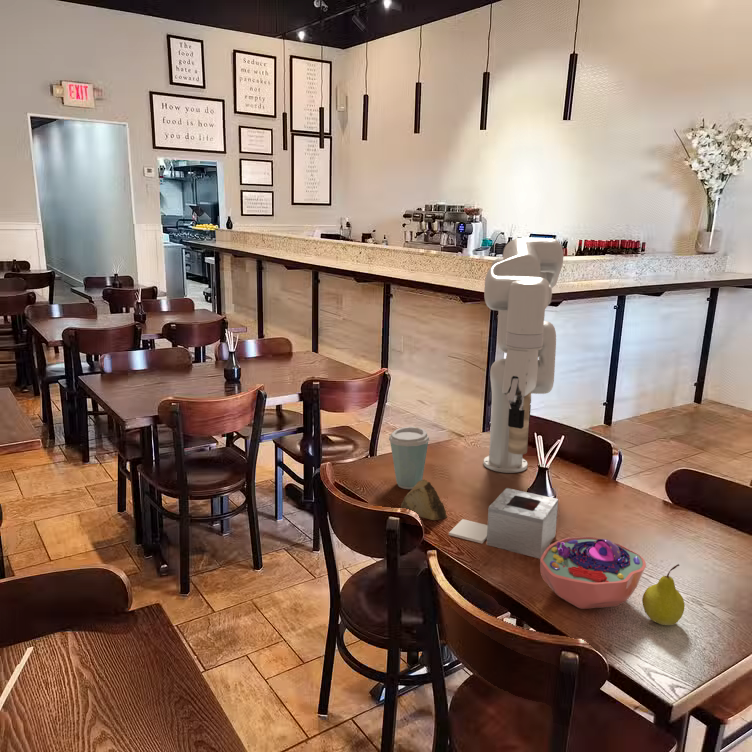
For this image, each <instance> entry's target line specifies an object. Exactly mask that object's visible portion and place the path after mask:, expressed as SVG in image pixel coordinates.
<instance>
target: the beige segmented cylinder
mask: <svg viewBox="0 0 752 752" xmlns="http://www.w3.org/2000/svg"><path fill="white" fill-rule="evenodd" d="M520 394H521V393H519V392H517V395H520ZM530 397H531V398H532V394H531V392H530V393H529V394H528V395H526V396H525V397H524V405H523V410H525V411H524V427H523V428H522V429H520V428H514V427H509V443H508V451H509V452H510V453H513V454H523V455H525V454H527V453H528V440H529V438H528V437H529V426H530V425H529V424H530V423H529V422H530V421H529V412H530V413H531V409H530V405H531V403H530ZM517 400H519V402H520V398H517Z"/></svg>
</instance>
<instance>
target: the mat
mask: <svg viewBox="0 0 752 752" xmlns="http://www.w3.org/2000/svg"><path fill="white" fill-rule="evenodd" d="M487 527H488V524H485V523H480V522H478V521H472V520H468V519H464V518H462V519H461V520H459V522H458V523H457V524H456V525H455V526H454V527H453V528H452V529H451V530H450V531H449V532H448V536H450V537H455V538H459V539H463V540H467V541H471V542H475V543H478V544H482V545H483V544H484V542H485V541H487Z"/></svg>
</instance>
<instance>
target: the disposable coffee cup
mask: <svg viewBox="0 0 752 752" xmlns="http://www.w3.org/2000/svg"><path fill="white" fill-rule="evenodd" d="M388 440H389V442H390V447H391V454H392V455H391V456H392V460H393V461H392V463H393V468H394V469H393V470H394V473H395V481H396V484H397V487H399V488H401V489H404V490H412V488H413V487H414V486H415V485H416V484H417V482H418V481H421V480H424V479H423V478H424V471H425V465H426V458H427V453H428V452H427V451H428V447H429V441H430V436H429V435H428V433H427V430H426V429H424V428H422V427H417V426H405V427H404V426H403V427H400V428H397V429H395V430H394V431H393V432H392V433H390V434H389V438H388Z"/></svg>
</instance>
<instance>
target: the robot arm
mask: <svg viewBox="0 0 752 752" xmlns="http://www.w3.org/2000/svg"><path fill="white" fill-rule="evenodd" d="M503 248H504V249H503V252H502V255H503V256H502V257H499V258H496V259H494V260H493V261H492V262H491V266H490V268H489V269H488V270H487V272H486V275H485V281H484V291H483V292H484V294H483V295H484V297H483V298H484V302H485V305H486V307H487V308H489V309H490V310H491V311H497V312H498V314H497V331H496V333H497V334H496V335H497V336H496V338H497V339H496V341H497V348H498V350H499V351H501V352H502V353H504V354H506V356H505V358H500V359H497V360H495V361H494V362H493V363H492V364H491V366H490V373H489V377H490V388H491V410H490V411H491V414H490V415H491V416H490V430H489V432H490V434H489V449H488V450H489V451H488V452H489V453H488V455H487V456H485V457H484V458H483V461H482V462H483V466H484V467H485V468H487V469H489V470H491V471H493V472H496V473H505V474H506V473H507V474H514V473H515V474H516V473H520V472H524V471H525V470H527V469H528V461H527V460H526V459H525V458H523V455H524V454H513V453H510V452H509V451H508V443H509V427H514V428H520V429H522V428H523V427H524V411H525V410H523V405H524V397H525V396H526V395H528V394H529V393H530V392H531V395H533V394H535V395H544V394H548V393H550V392H551V391H552V390H553V388H554V383H555V371H556V370H555V367H556V352H557V351H556V349H557V333H556V328H555V325H554V324H553V323H551V322H550V321H547V320H545V316H546V314H545V312H546V309H547V307H548V306H549V305H551V302H552V297H553V290H552V289H553V288H554V287H555V286H556V284H557V283H558V280H559V277H560V274H561V272H562V267H563V263H564V251H563V247H562V244H561V243H560V242H559V240H557V239H555V238H551V237H549V238H548V237H546V238H545V237H518V238H513V239H512V240H510V241H509V242H508V243H507V244H506V245H505V246H504V247H503ZM517 392H519V393H521V394H520V395H517ZM517 398H520V402H519V400H517ZM531 403H532V396H531V397H530V410H531V407H532V406H531ZM530 419H531V411H530V412H529V422H530Z"/></svg>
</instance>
